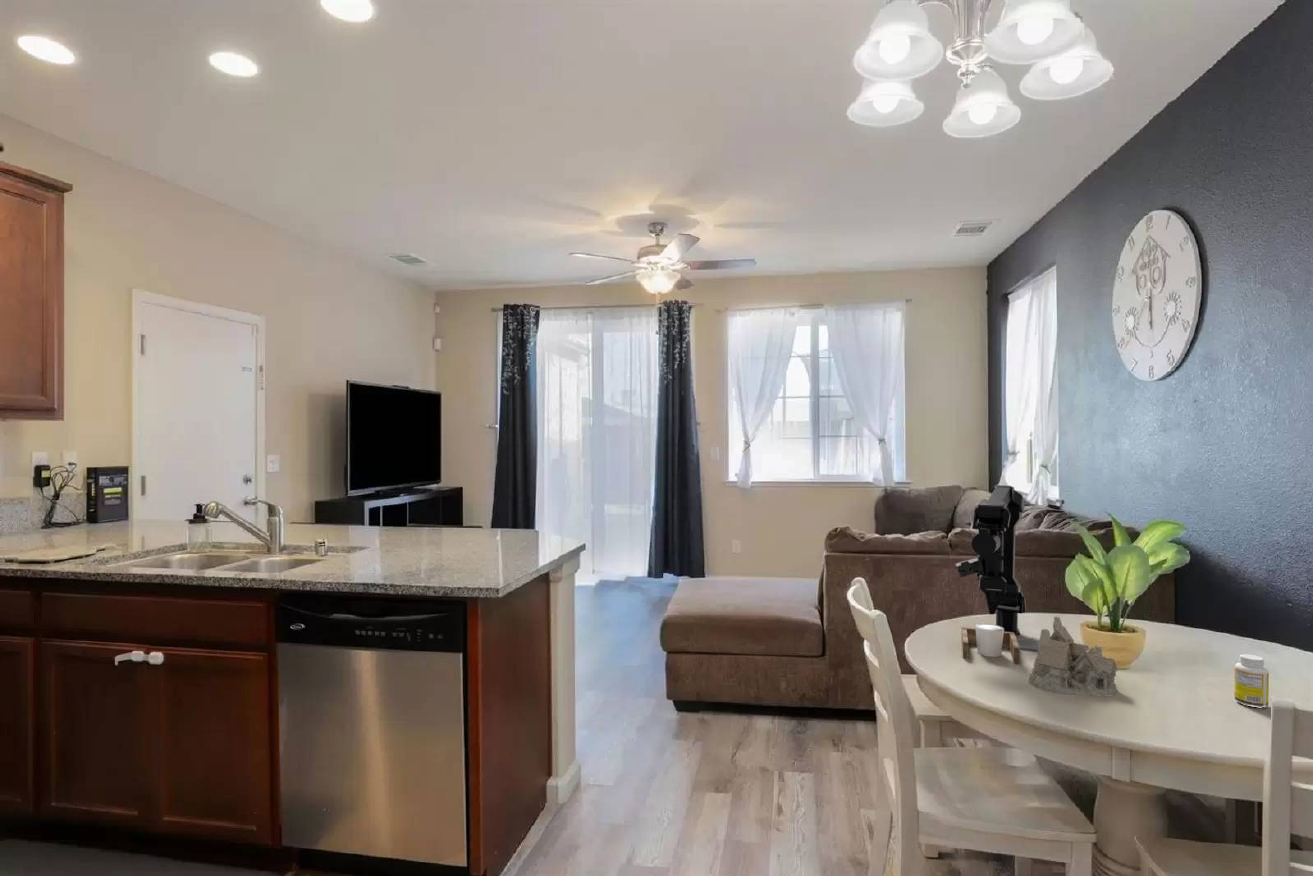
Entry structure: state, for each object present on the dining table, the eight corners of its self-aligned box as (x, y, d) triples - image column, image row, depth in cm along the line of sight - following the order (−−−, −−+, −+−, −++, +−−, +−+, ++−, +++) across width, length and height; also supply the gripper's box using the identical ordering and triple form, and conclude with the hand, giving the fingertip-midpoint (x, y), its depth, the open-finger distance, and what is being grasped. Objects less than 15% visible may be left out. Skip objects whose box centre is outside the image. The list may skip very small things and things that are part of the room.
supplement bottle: (1250, 699, 152) (1251, 652, 152) (1275, 709, 147) (1276, 660, 147) (1227, 699, 152) (1228, 653, 152) (1251, 710, 146) (1252, 661, 146)
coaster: (1013, 640, 195) (1013, 638, 195) (1050, 644, 191) (1050, 642, 191) (1016, 649, 186) (1016, 647, 186) (1054, 653, 183) (1054, 651, 183)
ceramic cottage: (1018, 681, 161) (1024, 618, 161) (1054, 672, 170) (1060, 611, 170) (1089, 708, 148) (1097, 639, 148) (1125, 696, 157) (1132, 631, 157)
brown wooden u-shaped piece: (961, 641, 193) (961, 627, 193) (1013, 647, 188) (1014, 632, 188) (962, 657, 179) (963, 642, 179) (1019, 664, 174) (1019, 648, 174)
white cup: (1008, 657, 179) (1009, 630, 179) (981, 657, 179) (982, 630, 179) (996, 649, 186) (996, 623, 186) (970, 649, 186) (970, 623, 186)
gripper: (956, 543, 194) (956, 599, 194) (958, 554, 177) (957, 615, 177) (1001, 546, 190) (1000, 603, 190) (1007, 557, 173) (1006, 620, 173)
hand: (990, 610), depth 183 cm, fingers open, 9 cm apart
